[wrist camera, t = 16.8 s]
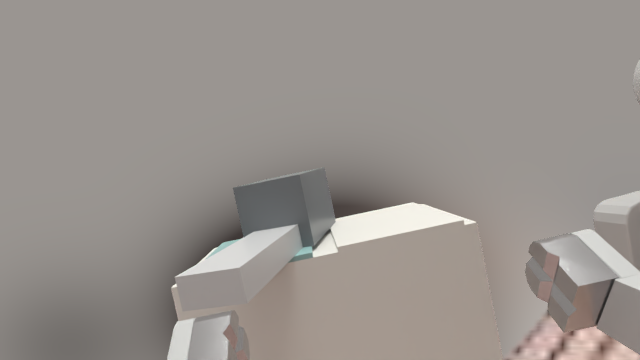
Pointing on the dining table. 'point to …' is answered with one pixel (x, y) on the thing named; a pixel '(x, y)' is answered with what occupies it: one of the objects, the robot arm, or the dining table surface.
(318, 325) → the stand
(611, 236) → the rounded white slab
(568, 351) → the dining table surface
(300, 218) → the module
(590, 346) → the dining table surface
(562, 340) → the dining table surface
